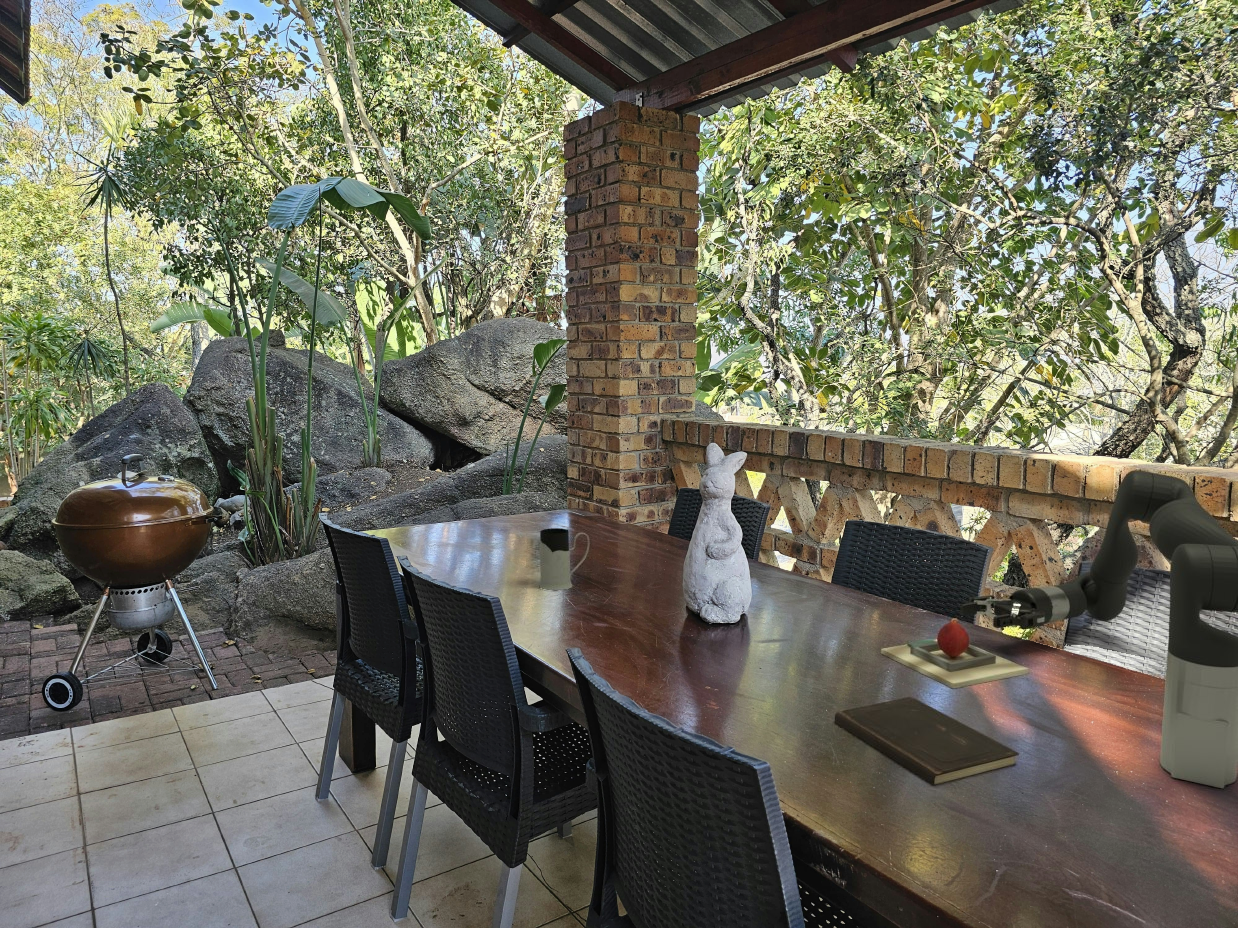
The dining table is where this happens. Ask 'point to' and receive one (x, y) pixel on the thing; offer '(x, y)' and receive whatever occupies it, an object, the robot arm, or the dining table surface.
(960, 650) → the onion
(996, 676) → the cradle board
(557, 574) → the glass holder
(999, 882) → the dining table surface
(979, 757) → the hardcover book
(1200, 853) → the dining table surface
